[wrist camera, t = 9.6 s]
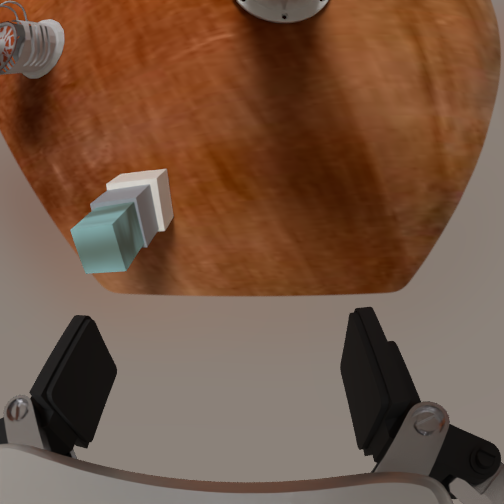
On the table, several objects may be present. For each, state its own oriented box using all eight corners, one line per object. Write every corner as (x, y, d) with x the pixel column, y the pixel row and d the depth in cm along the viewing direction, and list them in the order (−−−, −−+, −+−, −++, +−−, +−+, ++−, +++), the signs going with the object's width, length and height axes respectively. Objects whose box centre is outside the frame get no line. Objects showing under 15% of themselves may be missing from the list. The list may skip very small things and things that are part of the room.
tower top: (107, 190, 36) (90, 204, 32) (150, 184, 36) (136, 197, 31) (118, 232, 39) (103, 250, 35) (158, 228, 39) (147, 247, 34)
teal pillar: (95, 207, 32) (70, 230, 27) (134, 201, 32) (112, 224, 26) (107, 246, 34) (85, 273, 29) (144, 242, 34) (126, 270, 29)
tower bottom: (120, 173, 40) (106, 184, 36) (167, 168, 40) (156, 178, 35) (129, 219, 43) (116, 234, 39) (173, 216, 43) (165, 231, 39)
